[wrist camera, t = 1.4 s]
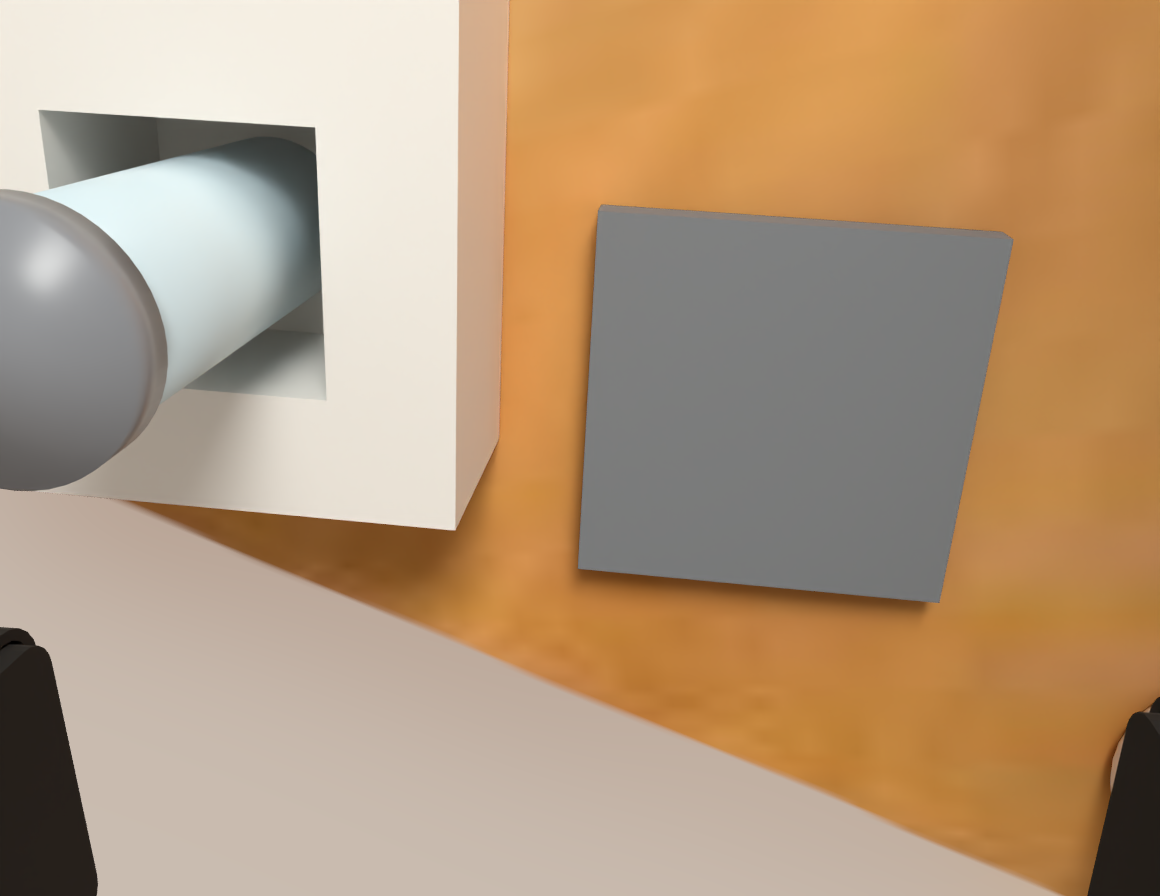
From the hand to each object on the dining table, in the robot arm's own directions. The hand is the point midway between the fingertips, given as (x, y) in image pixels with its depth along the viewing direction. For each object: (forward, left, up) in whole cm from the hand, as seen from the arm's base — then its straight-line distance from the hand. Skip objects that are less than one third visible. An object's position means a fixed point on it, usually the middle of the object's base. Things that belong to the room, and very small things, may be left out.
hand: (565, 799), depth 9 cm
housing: (-3, -12, -25) cm, 28 cm away
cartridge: (0, -12, -24) cm, 27 cm away
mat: (+5, +4, -25) cm, 26 cm away
